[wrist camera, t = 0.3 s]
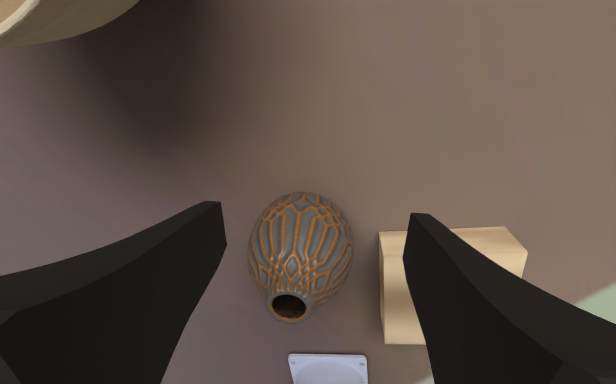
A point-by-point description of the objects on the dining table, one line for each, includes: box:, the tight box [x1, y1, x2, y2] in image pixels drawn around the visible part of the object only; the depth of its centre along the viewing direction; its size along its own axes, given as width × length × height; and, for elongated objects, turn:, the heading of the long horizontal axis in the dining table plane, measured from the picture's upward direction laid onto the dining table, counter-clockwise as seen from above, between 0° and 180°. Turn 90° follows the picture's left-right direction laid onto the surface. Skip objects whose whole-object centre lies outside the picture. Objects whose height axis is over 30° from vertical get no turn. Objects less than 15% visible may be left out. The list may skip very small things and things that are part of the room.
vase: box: [248, 192, 353, 324], centre depth 19 cm, size 7×7×9 cm
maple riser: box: [379, 226, 528, 344], centre depth 22 cm, size 9×9×3 cm
